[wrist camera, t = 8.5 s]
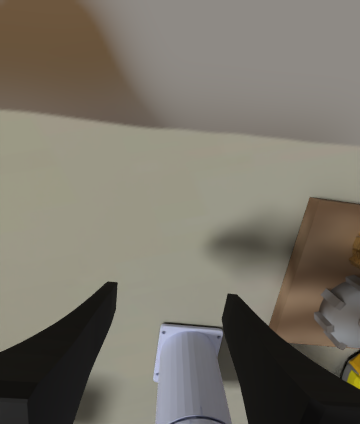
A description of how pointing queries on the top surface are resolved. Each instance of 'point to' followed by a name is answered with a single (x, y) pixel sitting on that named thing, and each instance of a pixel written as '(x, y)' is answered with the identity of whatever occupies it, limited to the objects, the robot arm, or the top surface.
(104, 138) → the top surface
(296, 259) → the gear board
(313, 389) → the robot arm
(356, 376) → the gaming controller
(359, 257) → the wooden gear
